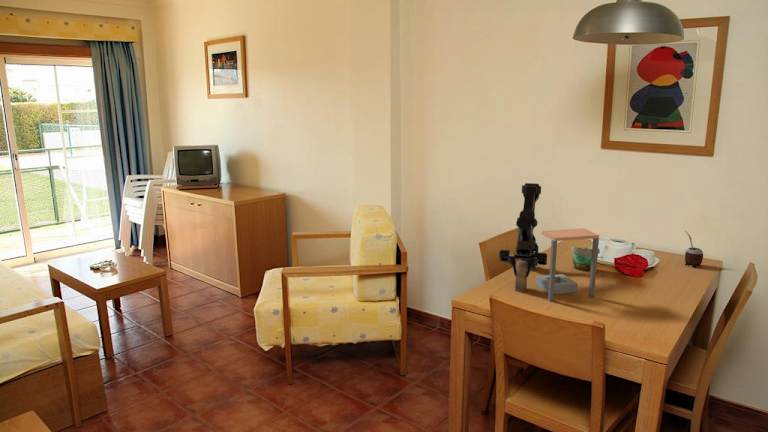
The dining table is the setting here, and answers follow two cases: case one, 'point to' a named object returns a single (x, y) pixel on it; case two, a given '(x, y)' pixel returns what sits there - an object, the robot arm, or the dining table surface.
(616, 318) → the dining table surface
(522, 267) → the peg
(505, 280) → the dining table surface
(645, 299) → the dining table surface
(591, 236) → the small table
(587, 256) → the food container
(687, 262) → the mate gourd
